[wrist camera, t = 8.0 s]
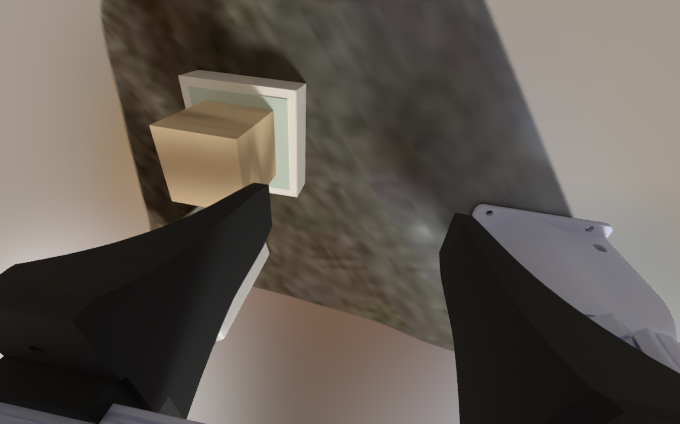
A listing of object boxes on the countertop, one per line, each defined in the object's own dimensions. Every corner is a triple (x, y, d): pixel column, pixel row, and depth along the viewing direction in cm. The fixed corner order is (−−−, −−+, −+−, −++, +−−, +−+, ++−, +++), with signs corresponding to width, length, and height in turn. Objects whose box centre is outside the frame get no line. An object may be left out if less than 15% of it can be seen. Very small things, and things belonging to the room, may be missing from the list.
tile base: (306, 83, 19) (296, 90, 17) (304, 183, 23) (296, 197, 21) (198, 69, 19) (177, 75, 17) (217, 169, 24) (202, 182, 22)
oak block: (276, 174, 20) (245, 214, 16) (216, 164, 21) (171, 201, 17) (273, 110, 18) (236, 139, 14) (205, 100, 18) (149, 125, 14)
